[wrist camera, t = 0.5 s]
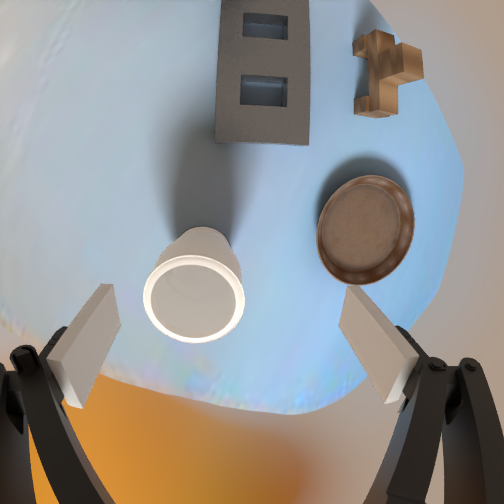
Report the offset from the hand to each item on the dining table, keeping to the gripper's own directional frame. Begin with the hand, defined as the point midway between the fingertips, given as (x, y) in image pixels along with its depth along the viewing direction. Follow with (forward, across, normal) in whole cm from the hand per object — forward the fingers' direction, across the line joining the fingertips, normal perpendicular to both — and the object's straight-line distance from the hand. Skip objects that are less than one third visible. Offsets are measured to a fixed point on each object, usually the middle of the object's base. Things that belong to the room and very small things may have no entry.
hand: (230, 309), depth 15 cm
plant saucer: (+27, +22, -2) cm, 35 cm away
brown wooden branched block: (+27, +20, +22) cm, 40 cm away
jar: (+27, -3, -7) cm, 28 cm away
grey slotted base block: (+27, +4, +22) cm, 35 cm away
